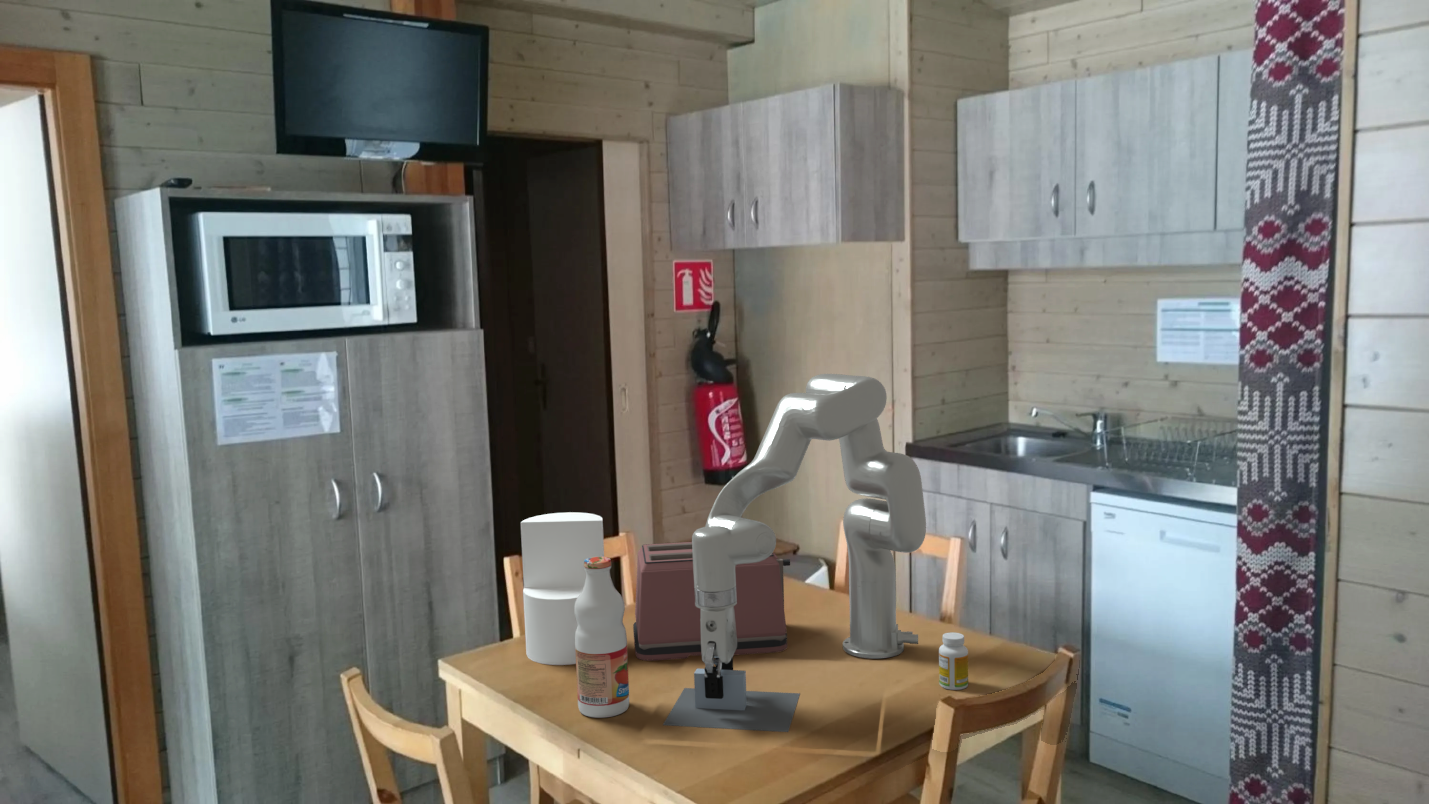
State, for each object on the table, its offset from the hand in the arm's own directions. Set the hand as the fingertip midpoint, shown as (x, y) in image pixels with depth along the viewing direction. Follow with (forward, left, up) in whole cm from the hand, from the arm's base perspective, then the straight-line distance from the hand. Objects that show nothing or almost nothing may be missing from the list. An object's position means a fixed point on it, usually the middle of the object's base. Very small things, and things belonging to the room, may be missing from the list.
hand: (719, 686), depth 195 cm
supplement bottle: (-42, -17, -4) cm, 45 cm away
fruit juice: (+21, +2, -4) cm, 22 cm away
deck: (0, +1, -3) cm, 3 cm away
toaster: (+8, -36, -5) cm, 37 cm away
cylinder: (+38, -27, -4) cm, 47 cm away
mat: (-3, +1, -4) cm, 5 cm away
